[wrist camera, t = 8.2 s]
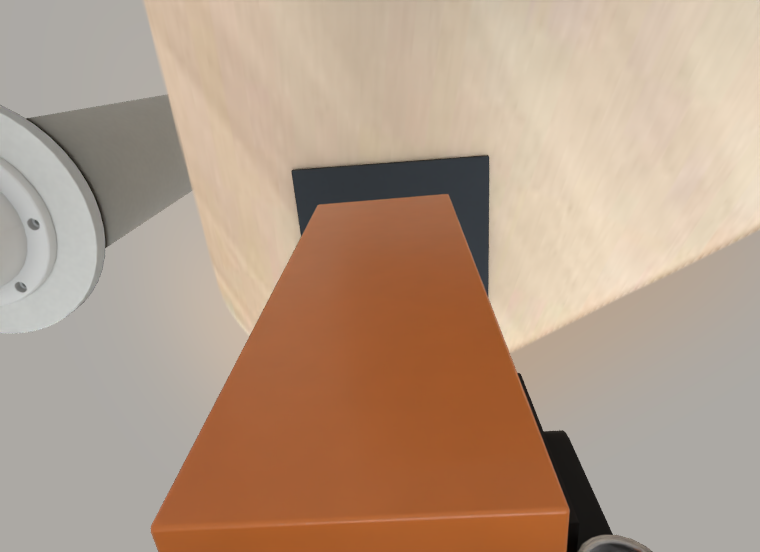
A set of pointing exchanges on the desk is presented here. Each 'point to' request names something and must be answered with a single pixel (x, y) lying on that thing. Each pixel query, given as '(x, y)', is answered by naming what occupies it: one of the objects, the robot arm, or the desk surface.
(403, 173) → the mat
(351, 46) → the desk surface
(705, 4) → the desk surface
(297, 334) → the block
